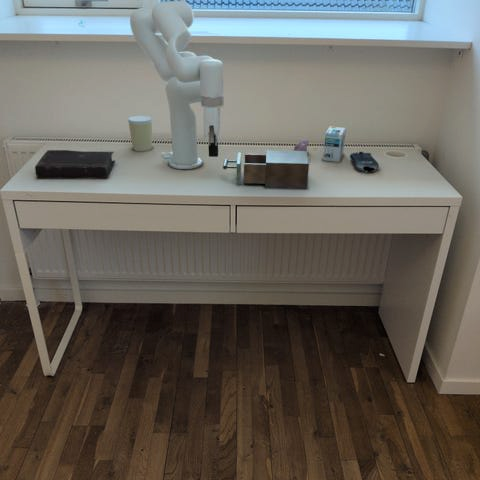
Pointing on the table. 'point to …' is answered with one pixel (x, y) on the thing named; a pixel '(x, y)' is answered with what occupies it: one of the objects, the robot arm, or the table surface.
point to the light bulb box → (334, 144)
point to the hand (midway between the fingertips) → (213, 155)
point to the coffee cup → (141, 132)
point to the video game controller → (301, 145)
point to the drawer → (250, 168)
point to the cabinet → (286, 169)
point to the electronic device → (364, 162)
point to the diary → (74, 164)
